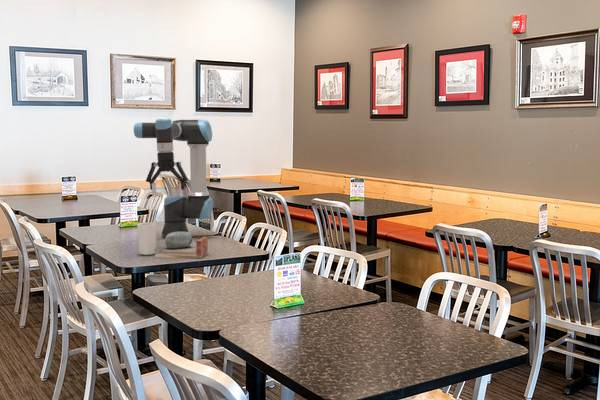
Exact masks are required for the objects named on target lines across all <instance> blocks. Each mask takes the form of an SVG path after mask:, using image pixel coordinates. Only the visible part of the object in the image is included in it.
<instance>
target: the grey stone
mask: <svg viewBox="0 0 600 400" xmlns="http://www.w3.org/2000/svg"><path fill="white" fill-rule="evenodd" d="M192 241H193V235H192V233H191V232H182V231H181V232H172V233H169V234H168V235H167V236H166V238H164V244H165V246H166V248H168V249H182V248H187V247H190V246H191V244H192Z"/></svg>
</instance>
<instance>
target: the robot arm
mask: <svg viewBox="0 0 600 400" xmlns="http://www.w3.org/2000/svg"><path fill="white" fill-rule="evenodd" d="M133 135H134V136H135V138H137V139H156V151H157V162H155V161H153V162H151V165H150V169H149V170H148V174H147V177H146V179H145V182H146V183H149V186H150V187H149V189H150V190H151V192H152V194H151V195H152V198H155V197H157V186H156V185H157V184H156V182H155V181H156V180H157V179H158V177H159V176H160V175H161V173H162V172H164V173H165V172H170V173H172V175H174V176H175V178H176V179H177V180H178V181H179V183H178V190H179V194H178V195H171V196H166V197H164V199H163V200H164V202H163V213H164V215H163V216H164V217H163V219H164V224H163V228H162V230H161V238H162V239H165V238H166V236H167V235H168V234H169V233H172V232H181V231H182V232H189V229H188V225H187V220H188V219H189V220H190V219H191V220H206V219H209V218H210V217H211V215H212V213H213V208H214V199H213V198H212V197H210V193H209V192H208V191H207V147H209V144H210V143H209V142H211V141H212V140H213V130H212V126H211V123H210V121H208V120H207V119H177V120H172V118H157V119H156V120H155V122H136V123H135V124H134V126H133ZM174 141H178V142H186V145H187V146H188V147H189V157H190V158H189V161H190V162H189V164H190V165H189V169H190V192H189V193H188V194H187V197H186V195H185V194H184V190H185V188H186V187H185V182H188V181H189V178H188V176H187V174H186V173H185V171H184V169H183V167H182V162H181V161H177V162H176V161H175V154H174V152H173V151H174ZM157 167H158V168H157ZM156 168H157V170H156ZM176 169H177V170H176ZM155 170H156V172H155ZM154 172H155V173H154ZM178 172H179V173H178ZM189 233H190V232H189Z"/></svg>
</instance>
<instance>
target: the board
mask: <svg viewBox="0 0 600 400" xmlns="http://www.w3.org/2000/svg"><path fill="white" fill-rule="evenodd" d="M208 239H209V238H208V236H202V237H201V238H199V239H198V240H196V241H195V242H196V243H195V245H196V248H195V249H196V250H173V249H171V250H170V249H168V250H167V249H165V250H164V249H163V250H161V251H159V252H158V253H155V254H154V258H162V259H163V258H164V259H165V258H166V259H172V258H173V259H199V260H201V259H202V258H204V257H206V255H208V254H209V249H208V248H209V246H208V241H209V240H208Z"/></svg>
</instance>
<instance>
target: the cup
mask: <svg viewBox="0 0 600 400" xmlns="http://www.w3.org/2000/svg"><path fill="white" fill-rule="evenodd" d="M136 226H137V229H136V230H137V243H138V244H137V245H138V252H139V254H140V255H142V256H152V255H155V254H156V245H157V223H154V222H141V223H140V222H139V223H137V225H136Z"/></svg>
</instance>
